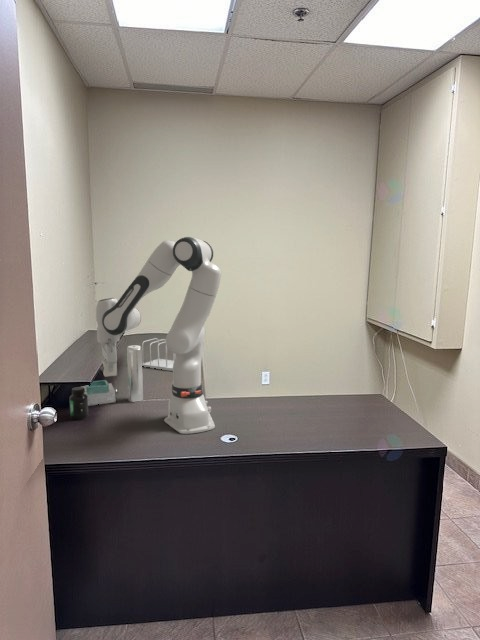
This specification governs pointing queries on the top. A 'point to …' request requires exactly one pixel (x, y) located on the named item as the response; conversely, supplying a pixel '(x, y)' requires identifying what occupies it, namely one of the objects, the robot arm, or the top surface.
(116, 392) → the motor housing
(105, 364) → the pump block
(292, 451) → the top surface
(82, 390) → the supplement bottle
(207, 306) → the robot arm
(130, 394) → the silver metal cylinder
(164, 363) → the file sorter
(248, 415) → the top surface
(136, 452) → the top surface
